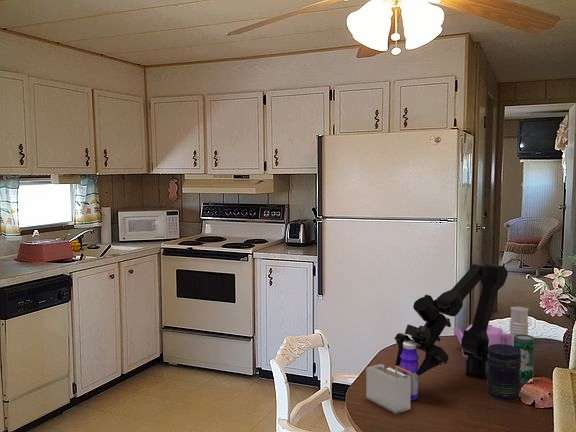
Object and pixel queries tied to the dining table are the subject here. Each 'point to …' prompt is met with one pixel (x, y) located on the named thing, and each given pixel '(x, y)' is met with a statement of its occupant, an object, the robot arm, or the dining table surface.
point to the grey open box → (388, 389)
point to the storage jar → (503, 372)
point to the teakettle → (489, 336)
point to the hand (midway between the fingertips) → (406, 370)
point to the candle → (519, 321)
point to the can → (525, 356)
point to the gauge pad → (396, 372)
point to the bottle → (410, 366)
